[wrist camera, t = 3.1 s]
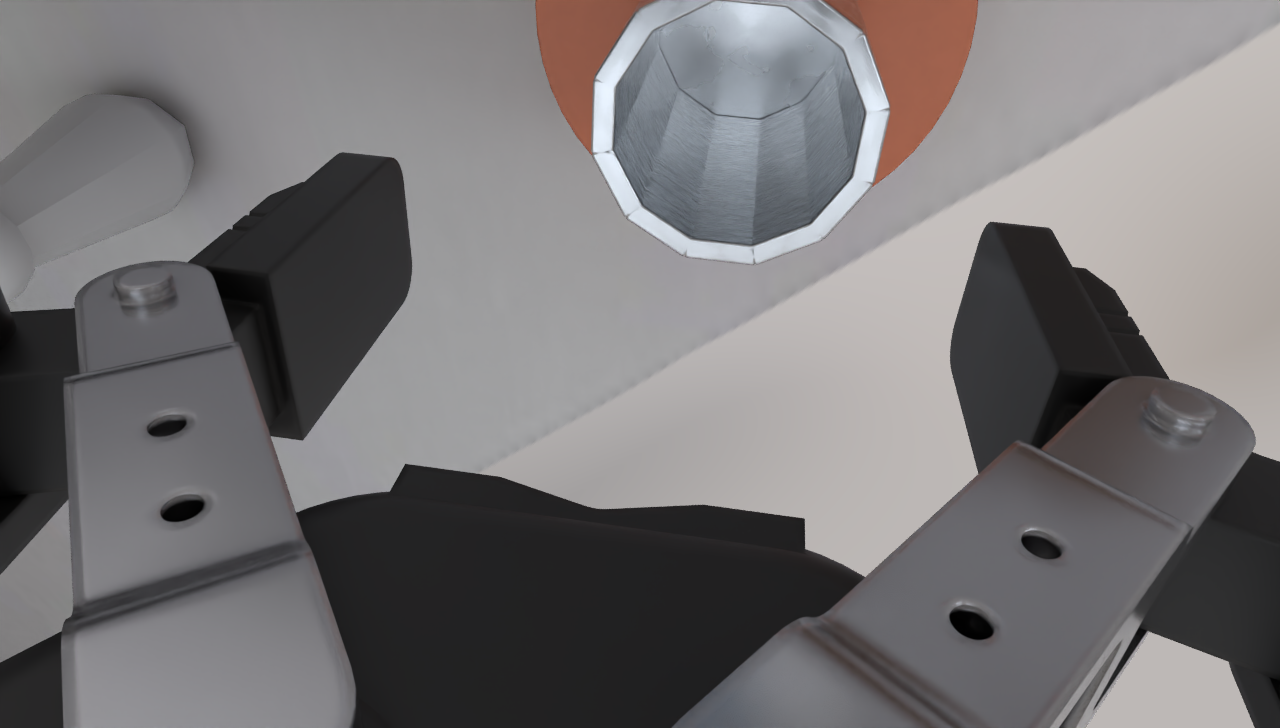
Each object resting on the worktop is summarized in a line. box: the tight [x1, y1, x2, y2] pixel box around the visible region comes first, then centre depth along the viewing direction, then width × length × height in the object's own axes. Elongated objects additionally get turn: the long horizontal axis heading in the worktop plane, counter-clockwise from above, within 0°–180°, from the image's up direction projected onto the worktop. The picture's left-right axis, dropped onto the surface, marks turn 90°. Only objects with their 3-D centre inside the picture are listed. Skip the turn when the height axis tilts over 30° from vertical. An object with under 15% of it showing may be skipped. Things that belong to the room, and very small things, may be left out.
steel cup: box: [591, 0, 891, 265], centre depth 22 cm, size 6×6×9 cm
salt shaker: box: [0, 94, 194, 303], centre depth 36 cm, size 6×6×13 cm
